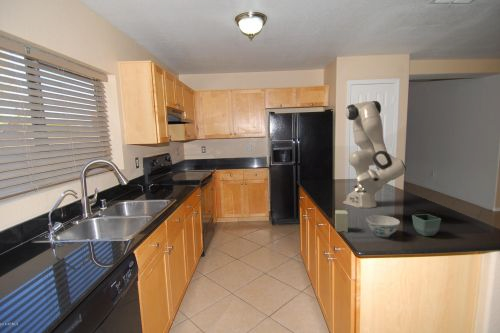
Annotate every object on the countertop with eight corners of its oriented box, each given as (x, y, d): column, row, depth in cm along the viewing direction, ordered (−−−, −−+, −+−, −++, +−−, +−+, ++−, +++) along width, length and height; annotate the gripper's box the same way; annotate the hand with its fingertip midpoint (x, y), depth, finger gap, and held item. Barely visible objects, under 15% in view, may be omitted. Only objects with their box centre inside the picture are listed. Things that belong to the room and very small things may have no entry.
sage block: (335, 231, 136) (335, 213, 135) (335, 227, 142) (335, 210, 141) (347, 232, 135) (347, 213, 133) (346, 228, 140) (346, 210, 139)
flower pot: (410, 231, 131) (411, 214, 130) (426, 230, 132) (427, 213, 131) (423, 238, 123) (424, 220, 121) (440, 237, 123) (441, 219, 122)
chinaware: (359, 232, 133) (359, 218, 132) (380, 227, 139) (380, 213, 138) (385, 243, 119) (385, 227, 119) (406, 236, 125) (407, 221, 124)
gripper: (380, 183, 157) (360, 194, 163) (368, 167, 145) (346, 179, 150) (386, 191, 153) (364, 202, 158) (374, 175, 141) (351, 188, 146)
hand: (356, 191), depth 154 cm, fingers closed
